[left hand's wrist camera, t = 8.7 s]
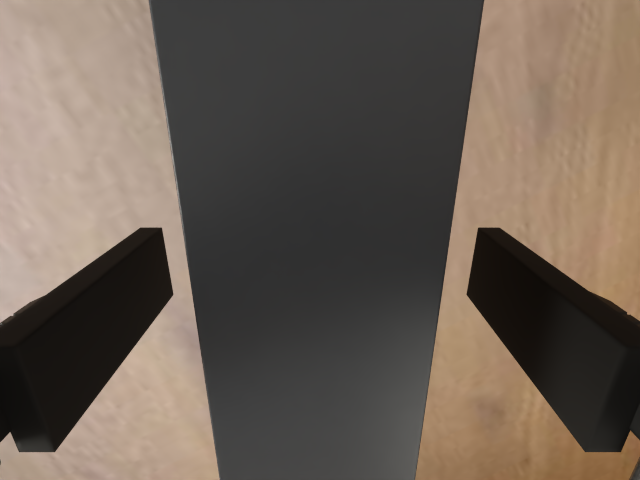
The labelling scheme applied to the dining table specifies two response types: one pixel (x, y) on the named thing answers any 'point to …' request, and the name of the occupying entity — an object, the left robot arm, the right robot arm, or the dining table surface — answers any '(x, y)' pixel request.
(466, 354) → the dining table surface
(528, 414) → the dining table surface
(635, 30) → the dining table surface
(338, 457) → the bar
